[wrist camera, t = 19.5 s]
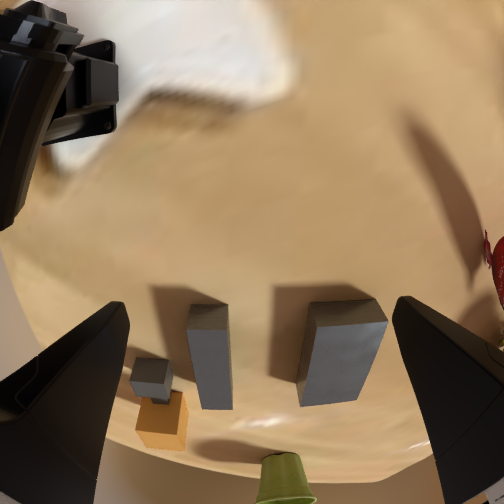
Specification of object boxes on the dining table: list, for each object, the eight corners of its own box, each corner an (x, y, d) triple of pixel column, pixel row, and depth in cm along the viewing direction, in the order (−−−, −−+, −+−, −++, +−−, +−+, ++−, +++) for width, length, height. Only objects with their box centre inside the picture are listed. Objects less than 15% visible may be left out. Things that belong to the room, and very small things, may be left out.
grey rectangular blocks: (204, 386, 29) (202, 409, 26) (190, 304, 24) (185, 329, 21) (349, 378, 29) (356, 400, 27) (375, 299, 24) (388, 321, 22)
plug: (153, 409, 31) (146, 447, 27) (131, 357, 27) (117, 401, 22) (188, 412, 32) (184, 451, 27) (173, 360, 27) (165, 406, 22)
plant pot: (287, 470, 43) (291, 511, 35) (241, 464, 40) (242, 508, 32) (321, 451, 39) (329, 496, 31) (272, 444, 36) (277, 496, 29)
